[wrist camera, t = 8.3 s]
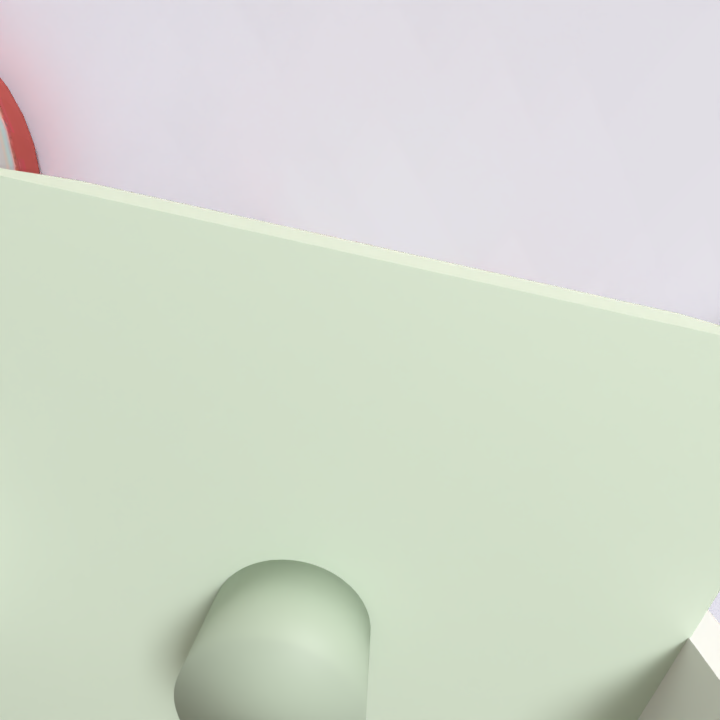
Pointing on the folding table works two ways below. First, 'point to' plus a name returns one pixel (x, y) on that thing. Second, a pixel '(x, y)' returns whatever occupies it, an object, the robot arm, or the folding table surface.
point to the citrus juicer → (15, 136)
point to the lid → (334, 476)
